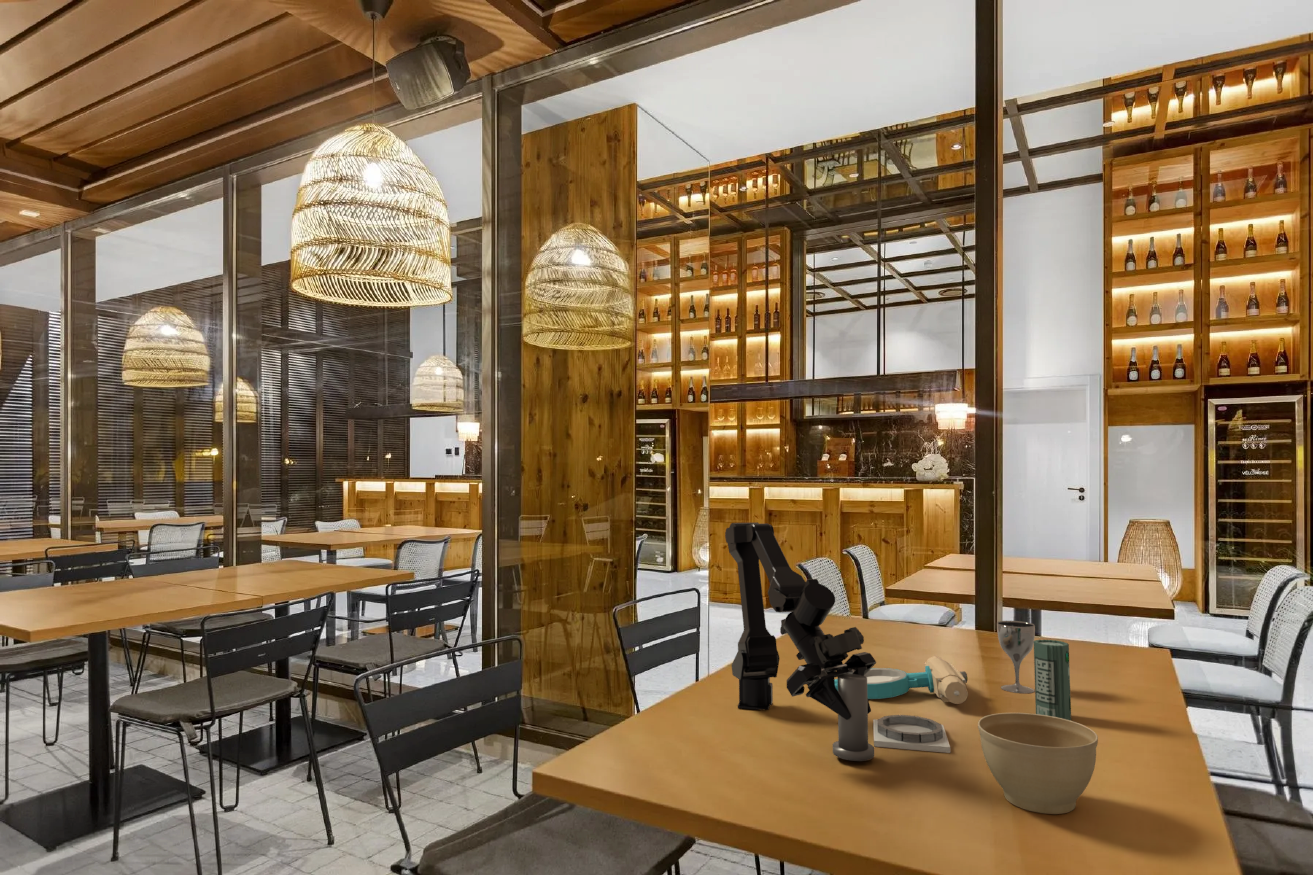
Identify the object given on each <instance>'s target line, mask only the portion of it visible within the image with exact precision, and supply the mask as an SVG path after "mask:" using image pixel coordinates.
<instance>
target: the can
mask: <svg viewBox="0 0 1313 875" xmlns="http://www.w3.org/2000/svg"><path fill="white" fill-rule="evenodd" d="M1069 645H1070V644H1069V643H1067V642H1065V641H1061V640H1056V639H1037V640H1036V639H1034V644H1033V663H1034V665H1033V666H1034V667H1033V668H1034V687H1035V688H1034V690H1035V692H1034V695H1035V696H1034V697H1035V714H1039V715H1047V716H1052V717H1058V718H1062V719H1066V720H1070V721H1072V705H1071V703H1072V699H1071V697H1072V696H1071V675H1070V674H1071V672H1070V671H1071V670H1070V646H1069Z"/></svg>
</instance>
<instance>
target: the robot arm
mask: <svg viewBox="0 0 1313 875" xmlns="http://www.w3.org/2000/svg"><path fill="white" fill-rule="evenodd" d="M774 529H775V528H774V527H773V525H772V524H769V523H759V522H731V523H730V525H729V526H728V527H727V528H726V529H725V534H724V537H725V542H726V544H727V546H728V547H727V548H728V552H729V555H730V556H731V557H732V558H733V560H734V561H735V563H737V564H736V565H737V573H738V582H739V583H738V584H739V593H740V603H741V604H740V606H741V613H742V622H743V632H742V634H741V635H740V638H739V640H738V642H737V652H736V655H735V656H734V659H733V661H732V664H731V672H732V673H731V674H732V676H733V677H735V678H736V679H738V691H739V692H738V700H739V701H738V704H737V708H738V709H748V710H758V711H760V710H761V711H768V710H769V709H770V707H771V706H772V705H773V702H774V700H773V699H774V698H773V683H772V682H770V681H771V678H777V676H778V673H779V672H778V670H779V664H780V654H779V651H778V647H777V638H776V637H775V635H773V634H771V633H770V631H769V630H768V629H767V625H766V617H765V616H766V614H765V607H764V596H763V587H762V577H761V570H760V564H761V567H762V568H763V570H764V572H765V574H766V578H767V579H768V582H769V587H768V590H767V595H768V599H769V600H768V601H769V604H770V606H771V607H772V609H773V611H775V612H776V613H788V614H787V615H786V617H785V618H783V619H781V620H780V622H781V623H780V629H779V630H780V635H782V636H783V635H786V634H787V635H788V636H789V638H790V640H791V641H792V643H793V644H794V646H795V647H796V649H797V651H798V652H797V654H796V655H795V656H796V658H797V659H798V661H802V660H804V661H805V663H806V664H805V663H804V664H801V665H798V667H797V668H795V670H794V671H793V672H792V674H790V676H789V677H788V678H787V679H786V689H787V691H788V692H789V694H790V695H791V698H792V697H796V696H801V695H803V694H805V697H806V698H811V699H813V700H815V701H816V702H817V703H819V704H822V705H823V706H825V707H826V708H828V709H830V710H831V711H832V712H834V713H836V714H837V716H838V715H840V716H841V717H843V718H844V719H846V720H849V719H850V718H851V714H850V712H849V710H848V708H847V706H846V705H845V703H844V701H843V699H842V698H841V696H840V694H839V693H838V691H837V689H836V687H835V680H834V679H836V678H838V675H841V674H857V675H862V676H864V675H865V674H866V673H867V672H868V671H869V670H870V669H871V668H874V666H875V665H876V664H877V660H876V659H875V657H873V655H872V654H871V653H870V652H866V651H863V652H858V653H854V654H851V656H849V654H848V653H850V652H854V651H856V650H857V651H859V650H862V649H863V647H862V645H863V644H864V642H865V638H864V637H865V636H864V635H863V634H862V633H861V631H860V630H859V629H858V628H857V627H856V626H854V627H850V628H848V629H844V631H843V633H839V634H837V635H833V634H831V633H828V634H827V633H826V634H825V632H824V631H823V629H822V628H821V627H820V626H821V625H822V624H824V622H825V621H826V619H827V617H828V615H829V613H830V611H831V610H832V609H833V607H834V605H835V602H836V597H835V594H834V592H833V591H832V590H831V589H829V588H828V587H827V586H825V585H823V584H822V583H820V582H819V580H818V579H817V578H809V579H808V578H807V580H805V579H804V577H803V576H802V575H800V573H798V572H796V571H795V570H793V569H792V568H791V566H790V564H789V562H788V560H787V559H786V555H785V554H784V551H782V548H781V546H780V544H779V542H778V541H777V540H778V539H777V538H776V536H775V531H774ZM848 657H849V658H848ZM847 658H848V659H847ZM846 659H847V660H846ZM844 660H846V661H845V662H844V663H843V661H844ZM804 685H807V689H808V691H807V692H806V693H805V686H804ZM867 699H868V698H867ZM870 713H872V709H871V705H870V701H869V699H868V715H869V714H870Z"/></svg>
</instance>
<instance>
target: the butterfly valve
mask: <svg viewBox="0 0 1313 875" xmlns="http://www.w3.org/2000/svg"><path fill="white" fill-rule="evenodd" d="M924 669H925V671H921V672H906V671H905V670H901V669H898V668H890V667H889V668H888V667H872V668H871V669H870V670H869V671H868V672H867V673H866V674H865V675H864V676H865V677H867V698H868V700H880V699H888V698H890V699H891V698H894V697H897V696H902V695H904V694H906V693H907V692H908V691H910V689H916V688H917V689H918V688H928V691H929V693H931V694H932V693H935V694H936V697H938V699H941V700H942V702H943V703H952V704H954V705H958V704H959V705H960V704H963V703H965V701H967V698H968V697H969V692H968V690H967V683H968V677H969V676H968V673H967V672H966V671H963V670H962V671H959V670H958V669H957V668H956V667H955V666H954V664H952V662H948V661H946V660H945V659H943V658H942V657H939V656H936V655H933V656H931V657H928V658H927V660H926V661H925V662H924ZM834 680H835V687H836V689H837V691H838V678H834Z"/></svg>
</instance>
